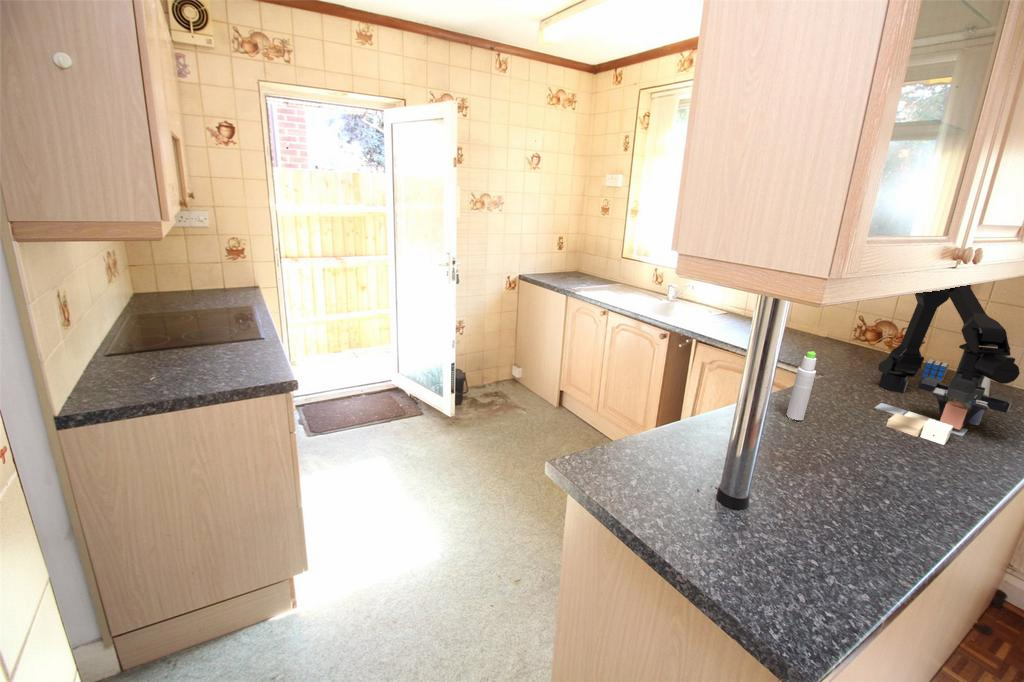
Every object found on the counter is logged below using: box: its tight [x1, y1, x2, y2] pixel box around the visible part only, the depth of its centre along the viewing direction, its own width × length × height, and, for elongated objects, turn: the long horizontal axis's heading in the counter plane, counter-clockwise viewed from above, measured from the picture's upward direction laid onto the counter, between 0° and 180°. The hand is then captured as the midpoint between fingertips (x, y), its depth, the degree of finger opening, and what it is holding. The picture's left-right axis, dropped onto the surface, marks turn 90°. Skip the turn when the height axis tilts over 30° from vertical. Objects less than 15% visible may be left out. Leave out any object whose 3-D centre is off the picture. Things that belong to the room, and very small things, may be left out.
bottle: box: [785, 351, 817, 421], centre depth 134 cm, size 4×4×20 cm
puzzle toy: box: [920, 359, 950, 383], centre depth 176 cm, size 6×6×6 cm
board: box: [873, 402, 968, 437], centre depth 141 cm, size 21×9×1 cm, turn 38°
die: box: [919, 418, 953, 446], centre depth 128 cm, size 5×5×5 cm
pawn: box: [939, 399, 971, 430], centre depth 134 cm, size 4×4×7 cm
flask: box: [965, 386, 987, 426], centre depth 141 cm, size 10×3×12 cm, turn 164°
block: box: [886, 413, 926, 437], centre depth 133 cm, size 7×7×3 cm
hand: (952, 421), depth 135 cm, fingers closed on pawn, 4 cm apart
